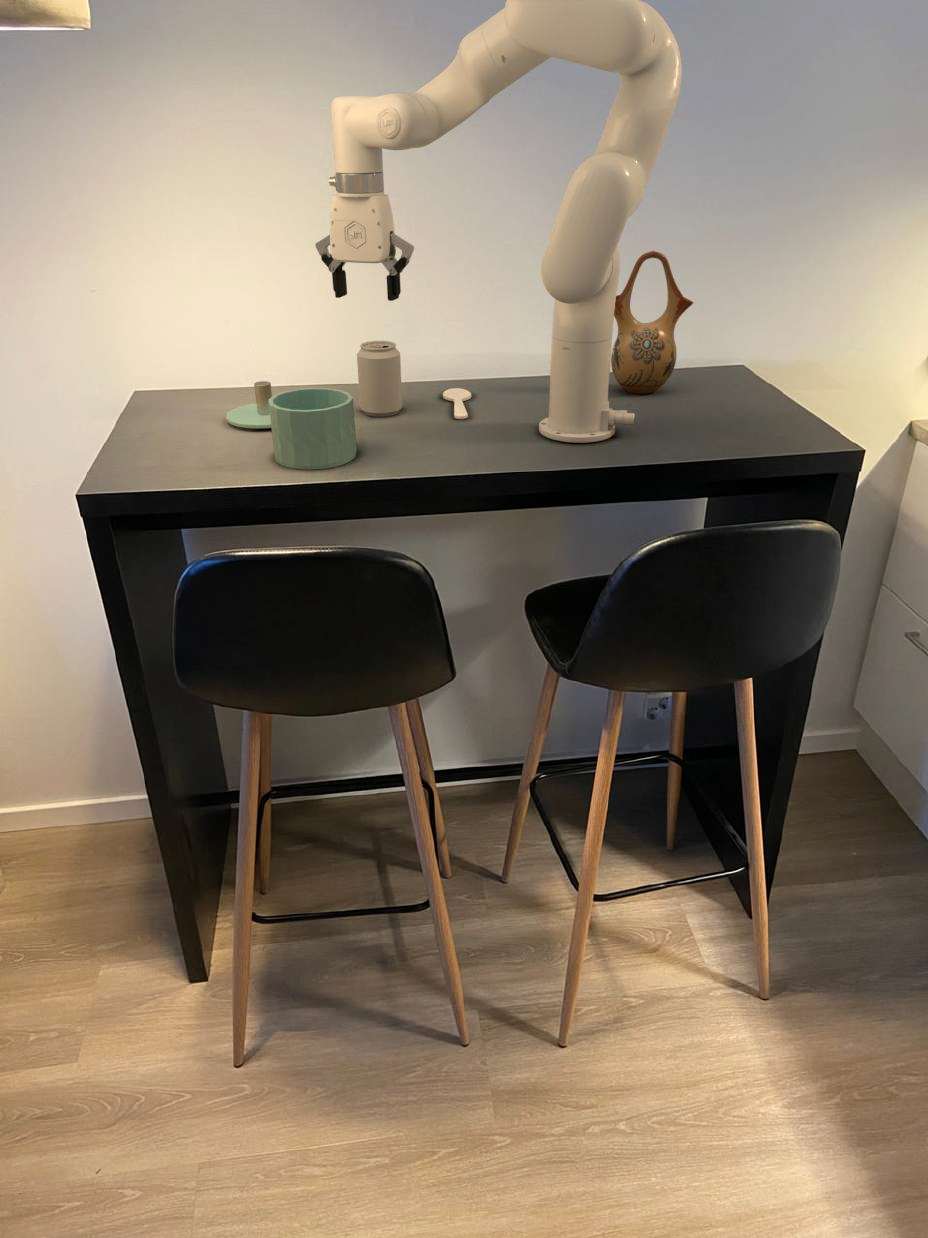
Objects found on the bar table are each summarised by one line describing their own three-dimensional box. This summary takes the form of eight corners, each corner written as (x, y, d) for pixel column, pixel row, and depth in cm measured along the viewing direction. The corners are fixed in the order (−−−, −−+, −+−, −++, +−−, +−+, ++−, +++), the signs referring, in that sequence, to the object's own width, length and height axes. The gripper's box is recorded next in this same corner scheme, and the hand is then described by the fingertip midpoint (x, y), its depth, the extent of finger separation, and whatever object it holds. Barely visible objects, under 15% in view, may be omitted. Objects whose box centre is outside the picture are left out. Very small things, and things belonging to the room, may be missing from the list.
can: (396, 419, 159) (393, 349, 153) (355, 416, 160) (350, 347, 154) (407, 406, 165) (404, 339, 160) (367, 404, 167) (363, 337, 161)
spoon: (446, 419, 158) (446, 416, 158) (441, 390, 174) (441, 387, 174) (476, 418, 159) (476, 415, 158) (469, 390, 174) (469, 387, 174)
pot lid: (315, 409, 164) (312, 374, 161) (291, 433, 153) (288, 395, 150) (243, 406, 166) (238, 371, 163) (214, 430, 154) (209, 392, 151)
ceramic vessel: (677, 383, 177) (692, 246, 165) (689, 397, 170) (706, 253, 157) (593, 385, 177) (602, 247, 164) (602, 399, 169) (612, 255, 156)
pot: (364, 444, 148) (361, 388, 143) (344, 471, 137) (339, 412, 132) (289, 441, 149) (284, 386, 145) (263, 467, 138) (256, 409, 134)
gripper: (300, 186, 144) (310, 299, 153) (400, 187, 139) (405, 304, 147) (322, 182, 150) (331, 291, 159) (419, 184, 145) (423, 296, 153)
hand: (367, 297), depth 153 cm, fingers open, 9 cm apart
